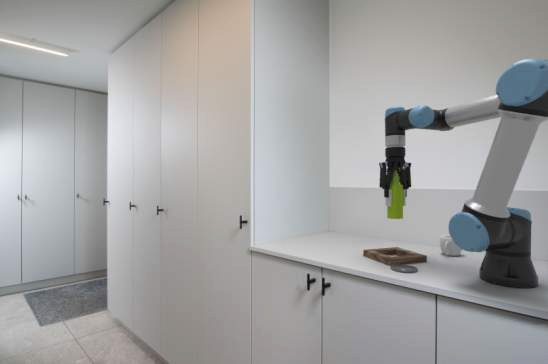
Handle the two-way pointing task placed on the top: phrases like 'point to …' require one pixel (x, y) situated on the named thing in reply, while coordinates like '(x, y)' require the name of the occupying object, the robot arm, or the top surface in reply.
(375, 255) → the pocket frame
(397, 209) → the soap dispenser
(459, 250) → the mug
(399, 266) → the coaster
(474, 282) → the top surface
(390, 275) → the top surface
